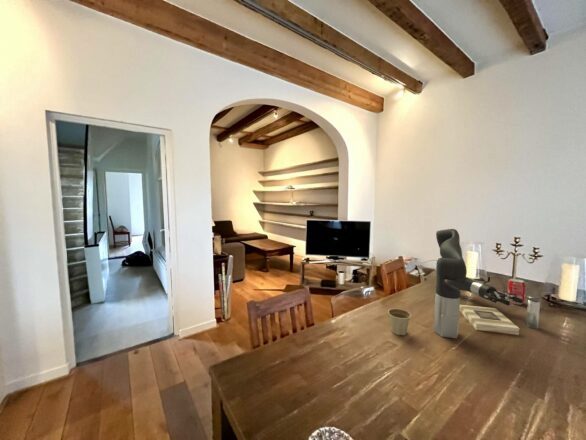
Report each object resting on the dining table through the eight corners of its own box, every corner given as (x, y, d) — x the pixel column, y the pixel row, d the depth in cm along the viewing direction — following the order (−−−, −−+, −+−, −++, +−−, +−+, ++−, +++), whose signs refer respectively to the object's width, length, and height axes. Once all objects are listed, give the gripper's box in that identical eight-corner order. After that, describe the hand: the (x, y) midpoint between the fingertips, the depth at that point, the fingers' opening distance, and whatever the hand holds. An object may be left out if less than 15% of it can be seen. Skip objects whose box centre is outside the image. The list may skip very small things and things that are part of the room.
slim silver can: (541, 329, 112) (544, 299, 110) (528, 328, 113) (531, 298, 112) (534, 324, 116) (537, 295, 115) (522, 323, 117) (525, 294, 116)
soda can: (527, 305, 137) (529, 282, 135) (514, 305, 137) (516, 282, 136) (516, 300, 144) (517, 278, 142) (503, 299, 144) (505, 278, 143)
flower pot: (386, 334, 108) (386, 315, 107) (388, 324, 117) (389, 306, 116) (409, 340, 104) (410, 320, 103) (410, 329, 112) (411, 311, 111)
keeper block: (518, 334, 108) (519, 327, 107) (476, 329, 112) (476, 322, 112) (494, 313, 127) (495, 307, 126) (459, 310, 131) (459, 304, 131)
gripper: (473, 285, 134) (505, 296, 118) (493, 282, 138) (527, 293, 122) (472, 298, 135) (504, 311, 119) (492, 295, 138) (526, 308, 123)
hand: (516, 302), depth 120 cm, fingers open, 8 cm apart
